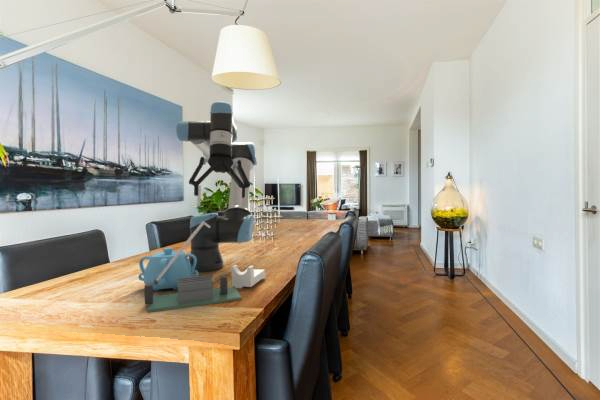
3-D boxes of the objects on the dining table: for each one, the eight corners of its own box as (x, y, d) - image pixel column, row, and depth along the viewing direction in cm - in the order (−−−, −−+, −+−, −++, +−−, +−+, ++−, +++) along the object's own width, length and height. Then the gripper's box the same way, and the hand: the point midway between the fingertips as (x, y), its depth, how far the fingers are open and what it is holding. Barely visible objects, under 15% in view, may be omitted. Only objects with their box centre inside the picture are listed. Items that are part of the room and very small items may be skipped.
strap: (161, 285, 98) (153, 280, 97) (209, 225, 103) (202, 220, 102) (161, 288, 95) (152, 283, 94) (210, 226, 100) (202, 221, 99)
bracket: (251, 289, 110) (250, 267, 110) (231, 288, 112) (231, 266, 111) (265, 279, 122) (264, 259, 122) (247, 278, 124) (247, 258, 124)
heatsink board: (147, 299, 101) (146, 279, 101) (234, 288, 110) (234, 270, 110) (143, 313, 90) (142, 290, 90) (241, 299, 99) (240, 279, 99)
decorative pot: (180, 277, 126) (178, 242, 125) (202, 285, 115) (201, 247, 115) (136, 287, 114) (134, 249, 113) (156, 297, 103) (154, 254, 103)
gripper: (183, 138, 105) (180, 203, 101) (258, 146, 114) (258, 206, 111) (182, 145, 112) (179, 206, 108) (253, 152, 121) (253, 209, 117)
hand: (219, 206), depth 109 cm, fingers open, 13 cm apart
